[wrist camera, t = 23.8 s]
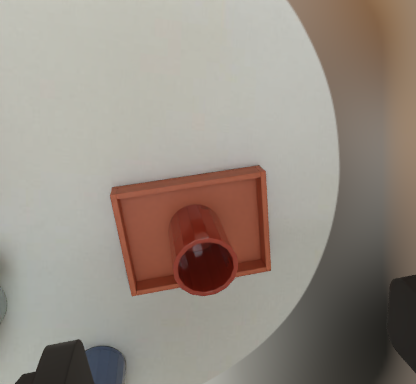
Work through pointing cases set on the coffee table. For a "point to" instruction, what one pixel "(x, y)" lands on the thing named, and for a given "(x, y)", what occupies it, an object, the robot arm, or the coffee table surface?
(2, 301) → the mug
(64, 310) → the coffee table surface
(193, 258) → the red cup
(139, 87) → the coffee table surface
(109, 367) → the blue cup
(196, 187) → the red tray
